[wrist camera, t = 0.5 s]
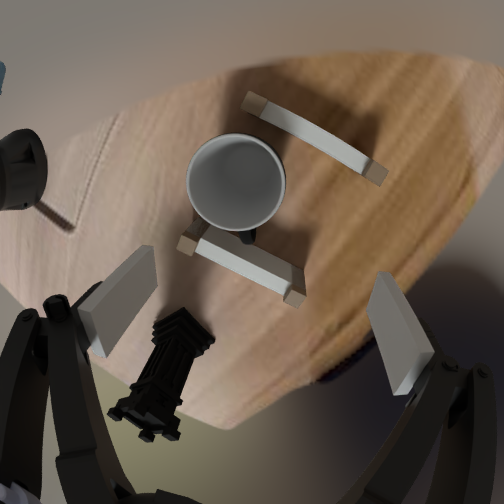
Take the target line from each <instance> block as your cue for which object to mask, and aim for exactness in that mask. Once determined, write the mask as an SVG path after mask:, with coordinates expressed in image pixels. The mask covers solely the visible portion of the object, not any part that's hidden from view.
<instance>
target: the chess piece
mask: <svg viewBox="0 0 504 504" xmlns="http://www.w3.org/2000/svg"><path fill="white" fill-rule="evenodd" d="M152 328H153V329H154V331H153V333H152V335H153V336H154V338H153V339H152V340H151V341H152V342H153V343H154V344H155V345H156V346H155V348H154V350H153V352H152V354H151V355H150V357H149V359H148V361H147V363H146V365H145V367H144V369H143V370H142V372H141V374H140V376H139V378H138V380H137V382H136V383H133V384H131V386H130V387H129V388H130V389H131V390H132V392H131V393H130V396H129V397H125V398H121V399H119V400H118V402H117V404H116V406H115V407H114V408H110V409H109V411H108V413H107V415H108V416H109V417H110V418H112V419H113V420H115V421H121V420H122V418H123V417H124V418H125V419H127V420H128V421H129V422H131V423H132V424H134V425H135V426H136V427H138V428H139V429H143V430H142V431H140V434H139V436H138V437H139V438H140V439H142V440H143V441H145V442H153V441H154V438H155V435H154V434H162V436H163V437H165V438H167V439H168V440H170V441H176V440H179V437H180V435H181V433H180V432H178V431H177V429H178V426H179V423H180V419H179V418H177V417H176V416H175V415H174V412H175V409H176V407H177V406H179V405H182V402H183V400H182V399H180V396H181V393H182V390H183V388H184V385H185V382H186V380H187V377H188V374H189V372H190V369H191V366H192V364H193V361H194V358H197V357H199V356H201V355H203V354H204V351H205V350H207V349H209V347H210V345H211V344H213V343H215V339H214V338H213V337H212V336H211V335H210V334H209V333H208V332H207V331H206V330H205V329H204V328H203V327H202V326H201V325H200V324H199V323H198V322H197V321H196V320H195V319H194V317H193V316H192V315H191V314H190V313H189V312H188V311H187V310H186V309H185V308H184V307H183V308H181V309H180V310H178V311H176V312H175V313H173V314H171V315H170V316H168V317H166V318H164V319H163V320H161V321H159V322H158V323H156V324H154V325H153V327H152Z"/></svg>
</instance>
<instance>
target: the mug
mask: <svg viewBox="0 0 504 504" xmlns="http://www.w3.org/2000/svg"><path fill="white" fill-rule="evenodd" d="M186 188H187V193H188V196H189V199H190V201H191V203H192V205H193V207H194V208H195V210H196V211H197V212H198V214H199V215H200V216H201V217H202V218H203V219H205V220H206V221H207V222H209V223H210V224H212V225H214V226H216V227H218V228H221V229H224V230H229V231H238V233H239V236H240V240H241V242H242V243H243V244H246V245H250V244H253V243H254V242H255V238H256V227H258V226H260V225H262V224H263V223H265V222H266V221H268V220H269V219H270V218H271V217H272V216H273V215H274V214H275V212H276V211H277V210H278V208H279V207H280V205H281V203H282V200H283V198H284V194H285V189H286V175H285V169H284V166H283V163H282V161H281V158H280V157H279V155H278V153H277V152H276V151H275V149H274V148H273V147H272V146H271V145H270V144H268V143H267V142H266V141H264V140H262V139H261V138H259V137H256V136H253V135H250V134H246V133H228V134H223V135H219V136H217V137H214V138H212V139H210V140H209V141H207V142H206V143H204V144H203V145H202V146H201V147H200V148H199V149H198V150H197V151H196V153H195V154H194V156H193V157H192V159H191V161H190V163H189V166H188V169H187V174H186Z"/></svg>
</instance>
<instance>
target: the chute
mask: <svg viewBox="0 0 504 504" xmlns="http://www.w3.org/2000/svg"><path fill="white" fill-rule="evenodd" d="M240 109H242V110H244V111H246V112H248V113H250V114H252V115H254V116H256V117H258V118H260V119H262V120H265V121H267V122H269V123H271V124H273V125H275V126H277V127H279V128H281V129H283V130H285V131H287V132H288V133H290V134H292V135H294V136H296V137H298V138H300V139H302V140H303V141H305V142H307V143H309V144H311V145H313V146H314V147H316V148H318V149H320V150H321V151H323V152H325V153H326V154H328V155H330V156H331V157H333V158H335V159H336V160H338V161H340V162H341V163H343V164H345V165H346V166H348V167H349V168H351V169H353V170H354V171H356V172H357V173H359V174H360V175H362V176H363V177H365V178H367V179H368V180H370V181H371V182H373V183H375V184H376V185H378V186H379V187H380V186H381V184H382V183H383V181H384V179H385V177H386V176H387V174H388V172H389V170H387V169H386V168H385V167H383V166H382V165H380V164H379V163H378V162H376V161H375V160H372V159H370V158H368V157H367V156H365V155H364V154H362V153H361V152H359V151H358V150H356V149H355V148H353V147H351V146H350V145H348V144H347V143H345V142H343V141H342V140H340V139H339V138H337V137H335V136H334V135H332V134H330V133H328V132H327V131H325V130H323V129H322V128H320V127H318V126H316V125H314V124H313V123H311V122H309V121H307V120H305V119H303V118H302V117H300V116H298V115H296V114H294V113H292V112H290V111H288V110H286V109H284V108H282V107H280V106H278V105H276V104H274V103H272V102H270V101H268V99H266V98H264V97H262V96H259V95H257V94H255V93H253V92H250V91H248V93H247V95H246V97H245V98H244V100H243V102H242V104H241V106H240ZM176 249H177V250H179V251H181V252H183V253H185V254H187V255H189V256H190V257H191V256H192V255H193V254H194V252H196V253H198V254H200V255H202V256H204V257H206V258H208V259H210V260H212V261H214V262H216V263H218V264H220V265H222V266H224V267H226V268H228V269H230V270H232V271H234V272H236V273H238V274H240V275H242V276H244V277H246V278H248V279H250V280H253V281H255V282H257V283H259V284H261V285H263V286H265V287H267V288H269V289H271V290H273V291H275V292H277V293H279V294H282V295H284V297H283V302H285V303H287V304H289V305H291V306H293V307H295V308H297V309H298V308H299V306H300V305H301V304H302V302H303V301H304V299H305V298H306V297H307V296H306V286H305V277H304V271H303V270H302V269H300V268H298V267H296V266H294V265H292V264H290V263H288V262H286V261H284V260H282V259H280V258H278V257H276V256H274V255H272V254H270V253H268V252H266V251H264V250H262V249H260V248H258V247H256V246H254V245H252V244H250V245H246V244H243V243H242V242H241V240H240V238H238V237H236V236H234V235H232V234H230V233H228V232H226V231H225V230H223V229H221V228H218V227H216V226H214V225H212V224H210V223H209V222H207V221H205V220H203V219H201V218H199V217H198V218H197V219H196V220H195V221H194V222H193V223H192V224H191V225H190V226H189V227H188V228H187V230H186V231H185V232H184V233H183V234H182V235H181V238H180V240H179V243H178V245H177V248H176Z"/></svg>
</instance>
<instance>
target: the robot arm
mask: <svg viewBox="0 0 504 504" xmlns="http://www.w3.org/2000/svg"><path fill="white" fill-rule="evenodd" d="M5 71H6V68H5V65H4V63H3V62H1V61H0V95H1V93H2V91H1V88H2V84H3V79H4V75H5ZM46 179H47V162H46V155H45V150H44V147H43V144H42V142H41V140H40V138H39V137H38V135H37V134H36V133H35V132H34V131H33V130H31V129H20V130H16V131H13V132H12V133H10V134H9V135H7V136H5V137H4V138H3V139H1V140H0V211H4V210H24V209H27V208H29V207H31V206H33V205H35V204H36V203H38V201H39V200H40V199H41V197H42V195H43V192H44V189H45V185H46ZM157 286H158V285H157V276H156V267H155V257H154V246H147V245H142V246H141V247H140V248H138V249H137V250H136V251H135V252H134V253H133V254H132V255H131V256H130V257H129V258H128V259H127V260H125V261H124V262H123V263H122V264H121V265H120V266H119V267H118V268H117V269H116V270H115V271H114V272H113V273H112V274H111V275H110V276H109V277H108V278H107V279H106V280H105V281H104V282H102V281H100V282H98V283H96V284H94V285H93V286H92V287H91V288H89V289H88V290H87V292H85V293H84V294H83V296H81V297H80V298H79V299H78V300H77V301H76V302H75V303H74V304H73V305H72V306H71V307H70V305H69V302H68V299H67V297H66V296H65V295H61V294H58V295H53V296H51V297H49V298H47V299H46V300H45V301H44V303H43V308H44V311H45V313H46V316H47V318H43V317H39V314H38V312H37V310H36V309H33V308H29V309H25V310H23V311H22V312H21V313H20V314H19V315H18V316H17V318H16V321H15V322H14V325H13V327H12V329H11V331H10V334H9V336H8V338H7V341H6V343H5V346H4V348H3V351H2V353H1V356H0V504H41V502H40V497H41V488H42V446H43V431H44V420H45V412H46V405H47V397H48V391H49V385H50V395H51V404H52V412H53V419H54V425H55V430H56V436H57V441H58V446H59V451H60V455H59V456H57V457H56V460H55V462H56V468H57V472H58V476H59V479H60V483H61V486H62V490H63V493H64V496H65V499H66V502H67V504H201V503H199V502H197V501H195V500H193V499H190V498H188V497H185V496H181V495H177V494H173V493H170V492H166V491H163V490H159V489H157V491H156V493H140V494H136V492H135V490H134V488H133V487H132V485H131V483H130V482H129V481H128V479H127V477H126V476H125V474H124V472H123V469H122V467H121V465H120V462H119V460H118V457H117V455H116V452H115V449H114V446H113V444H112V441H111V438H110V435H109V433H108V430H107V426H106V423H105V420H104V417H103V414H102V410H101V406H100V403H99V399H98V395H97V391H96V387H95V383H94V379H93V374H92V370H91V365H90V360H89V355H88V353H87V349H88V348H89V347H90V345H91V348H92V350H93V353H94V354H95V355H98V356H101V357H104V358H107V357H108V356H109V354H110V353H111V351H112V350H113V348H114V347H115V345H116V344H117V342H118V341H119V339H120V338H121V336H122V335H123V333H124V332H125V331H126V329H127V328H128V326H129V325H130V323H131V322H132V321H133V319H134V318H135V316H136V315H137V314H138V312H139V311H140V309H141V308H142V307H143V305H144V304H145V302H146V301H147V300H148V298H149V297H150V296H151V294H152V293H153V292H154V290H155V289H156V288H157ZM366 312H367V314H368V317H369V320H370V323H371V325H372V328H373V331H374V334H375V337H376V340H377V343H378V346H379V349H380V352H381V355H382V358H383V361H384V364H385V368H386V371H387V374H388V378H389V381H390V385H391V388H392V392H393V395H403V394H408V392H409V391H410V390H411V388H412V387H413V386H414V389H415V394H414V395H413V396H412V397H411V399H410V400H409V402H408V403H407V404H406V405H405V406H406V409H405V410H404V412H403V414H402V416H401V417H400V419H399V421H398V422H397V424H396V426H395V428H394V429H393V430H392V432H391V434H390V435H389V437H388V438H387V440H386V441H385V443H384V444H383V446H382V447H381V449H380V450H379V452H378V453H377V454H376V456H375V457H374V459H373V460H372V461H371V463H370V464H369V465H368V467H367V468H366V469H365V471H364V472H363V473H362V474H361V476H360V477H359V478H358V479H357V481H356V482H355V483H354V484H353V486H352V487H351V488H350V489H349V490H348V491H347V492H346V494H345V495H344V496H343V497H342V498H341V499H340V500H339V501H338V502H337V503H336V504H401V502H402V501H403V499H404V498H405V496H406V495H407V493H408V491H409V489H410V488H411V486H412V485H413V483H414V481H415V480H416V478H417V476H418V474H419V472H420V471H421V469H422V467H423V465H424V463H425V461H426V459H427V457H428V455H429V453H430V451H431V449H432V447H433V445H434V442H435V440H436V438H437V436H438V433H439V431H440V429H441V426H442V424H443V429H442V435H441V441H440V447H439V452H438V457H437V462H436V466H435V471H434V475H433V479H432V483H431V486H430V490H429V493H428V497H427V500H426V503H425V504H490V501H491V495H492V489H493V481H494V473H495V462H496V446H497V417H496V399H495V388H494V379H493V373H492V371H491V369H490V368H489V367H488V366H487V365H486V364H484V363H480V362H478V363H475V365H474V366H473V367H472V369H471V370H469V369H464V368H460V366H459V363H458V362H457V361H456V360H455V359H454V358H452V357H450V356H447V355H445V354H444V353H443V351H442V349H441V347H440V345H439V343H438V341H437V339H436V338H435V336H434V334H433V332H432V330H431V329H430V327H429V325H428V324H427V323H426V322H425V321H424V320H423V319H422V318H417V317H416V315H415V314H414V312H413V311H412V308H411V307H410V305H409V303H408V301H407V300H406V298H405V296H404V295H403V293H402V291H401V290H400V288H399V286H398V285H397V283H396V281H395V280H394V278H393V277H392V275H391V273H390V272H381V271H378V274H377V278H376V281H375V284H374V287H373V291H372V294H371V297H370V300H369V303H368V306H367V309H366Z"/></svg>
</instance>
